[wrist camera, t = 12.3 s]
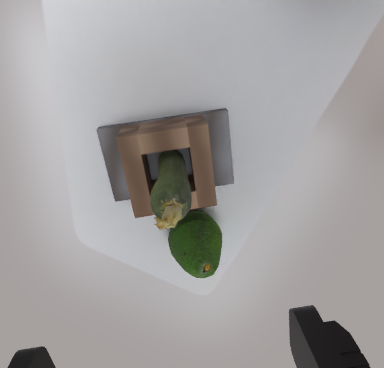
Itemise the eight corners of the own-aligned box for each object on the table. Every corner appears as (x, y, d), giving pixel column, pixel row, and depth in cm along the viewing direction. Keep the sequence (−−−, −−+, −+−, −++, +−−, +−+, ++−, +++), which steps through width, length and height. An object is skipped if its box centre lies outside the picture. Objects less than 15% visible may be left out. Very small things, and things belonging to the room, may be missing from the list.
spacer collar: (225, 108, 44) (236, 119, 37) (231, 179, 49) (242, 201, 42) (98, 127, 44) (86, 142, 37) (116, 197, 48) (108, 221, 41)
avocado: (208, 246, 53) (219, 298, 42) (163, 237, 52) (163, 289, 41) (222, 205, 50) (238, 250, 39) (175, 195, 49) (178, 238, 38)
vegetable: (191, 158, 45) (208, 236, 27) (168, 177, 46) (170, 264, 28) (170, 136, 44) (174, 202, 25) (147, 155, 44) (135, 233, 26)
